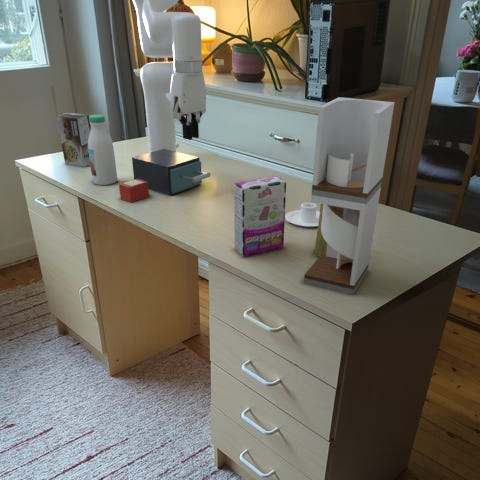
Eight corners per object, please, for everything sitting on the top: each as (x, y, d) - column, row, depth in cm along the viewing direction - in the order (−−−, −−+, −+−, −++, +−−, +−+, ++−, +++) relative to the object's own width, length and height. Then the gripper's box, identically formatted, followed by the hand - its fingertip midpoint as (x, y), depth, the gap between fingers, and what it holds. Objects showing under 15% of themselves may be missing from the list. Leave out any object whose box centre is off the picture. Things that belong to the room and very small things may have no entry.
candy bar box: (273, 241, 128) (276, 174, 119) (284, 248, 124) (288, 181, 115) (232, 249, 123) (232, 181, 114) (242, 257, 120) (243, 188, 111)
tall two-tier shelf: (321, 261, 118) (338, 97, 99) (367, 271, 114) (394, 102, 95) (303, 282, 110) (319, 107, 91) (352, 294, 106) (379, 113, 87)
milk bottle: (120, 178, 168) (113, 113, 158) (113, 186, 162) (105, 118, 151) (97, 177, 169) (88, 112, 158) (89, 185, 163) (79, 118, 152)
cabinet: (200, 184, 164) (199, 157, 159) (169, 195, 155) (167, 167, 150) (165, 175, 172) (163, 148, 167) (134, 185, 163) (131, 157, 158)
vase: (311, 248, 124) (317, 190, 116) (337, 248, 125) (343, 190, 117) (317, 259, 119) (323, 200, 111) (343, 259, 119) (351, 199, 112)
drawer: (216, 187, 159) (216, 165, 155) (189, 197, 151) (187, 174, 147) (169, 174, 170) (167, 153, 166) (140, 183, 162) (138, 161, 158)
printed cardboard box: (96, 162, 183) (89, 114, 175) (84, 167, 178) (77, 118, 170) (76, 159, 187) (68, 112, 178) (64, 163, 182) (55, 115, 173)
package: (120, 199, 152) (118, 184, 150) (138, 192, 157) (137, 178, 154) (131, 202, 150) (129, 187, 147) (148, 196, 154) (147, 181, 152)
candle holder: (277, 215, 142) (278, 200, 140) (315, 209, 146) (316, 194, 144) (298, 231, 133) (299, 215, 130) (338, 225, 137) (340, 209, 134)
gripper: (197, 63, 146) (200, 131, 156) (156, 69, 136) (161, 141, 146) (218, 66, 142) (218, 135, 152) (177, 71, 132) (181, 145, 142)
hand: (190, 137), depth 149 cm, fingers closed
